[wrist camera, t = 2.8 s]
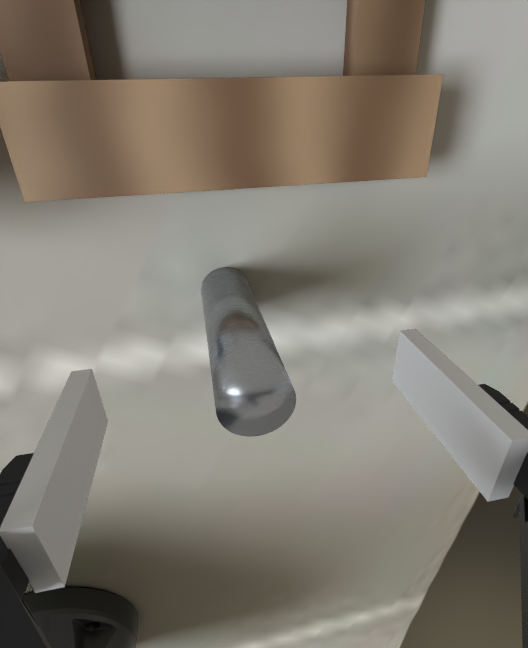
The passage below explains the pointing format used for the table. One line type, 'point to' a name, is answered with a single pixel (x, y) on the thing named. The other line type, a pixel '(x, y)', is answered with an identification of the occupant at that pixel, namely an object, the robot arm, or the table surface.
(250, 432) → the pin
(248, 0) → the table surface
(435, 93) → the slot block
